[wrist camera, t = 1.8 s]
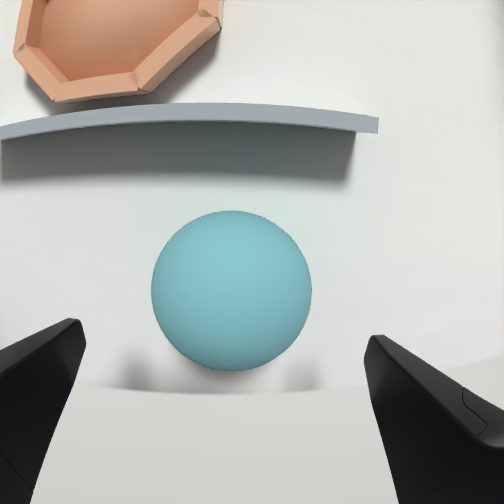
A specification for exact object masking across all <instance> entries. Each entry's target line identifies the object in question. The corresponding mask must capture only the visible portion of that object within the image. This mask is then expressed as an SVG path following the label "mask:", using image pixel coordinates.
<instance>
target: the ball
mask: <svg viewBox="0 0 504 504" xmlns="http://www.w3.org/2000/svg"><path fill="white" fill-rule="evenodd" d="M311 294H312V286H311V278H310V273H309V269H308V265H307V263H306V260H305V258H304V256H303V254H302V252H301V251H300V249H299V247H298V246H297V244H296V243H295V242H294V240H293V239H292V238H291V237H290V236H289V235H288V234H287V233H286V232H285V231H284V230H283V229H281V228H280V227H279V226H277V225H276V224H274V223H273V222H271V221H269V220H267V219H266V218H263V217H261V216H258V215H256V214H252V213H248V212H242V211H221V212H214V213H211V214H207V215H204V216H202V217H199V218H197V219H195V220H193V221H191V222H189V223H188V224H186V225H185V226H183V227H182V228H181V229H180V230H179V231H177V232H176V233H175V234H174V235H173V236H172V238H171V239H170V240H169V241H168V242H167V243H166V245H165V247H164V248H163V250H162V251H161V253H160V255H159V258H158V260H157V262H156V264H155V268H154V272H153V277H152V284H151V297H152V305H153V310H154V313H155V316H156V319H157V322H158V324H159V326H160V328H161V330H162V332H163V333H164V335H165V336H166V338H167V339H168V340H169V341H170V342H171V344H172V345H173V346H174V347H175V348H176V349H177V350H178V351H179V352H180V353H182V354H183V355H184V356H186V357H187V358H189V359H191V360H192V361H194V362H196V363H198V364H201V365H203V366H206V367H209V368H212V369H217V370H224V371H239V370H246V369H251V368H255V367H258V366H261V365H263V364H266V363H268V362H270V361H271V360H273V359H275V358H276V357H278V356H279V355H280V354H281V353H283V352H284V351H285V350H286V349H287V348H288V347H289V346H290V345H291V344H292V343H293V342H294V340H295V339H296V338H297V336H298V335H299V334H300V332H301V330H302V328H303V327H304V324H305V322H306V319H307V316H308V314H309V310H310V305H311Z"/></svg>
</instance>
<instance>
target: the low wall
mask: <svg viewBox="0 0 504 504" xmlns="http://www.w3.org/2000/svg"><path fill="white" fill-rule="evenodd" d="M185 121H218V122H251V123H270V124H285V125H297V126H308V127H318V128H328V129H336V130H344V131H352V132H362V133H377V134H378V121H379V118H378V117H372V116H366V115H360V114H353V113H346V112H339V111H331V110H323V109H314V108H305V107H294V106H281V105H266V104H246V103H171V104H150V105H136V106H124V107H113V108H104V109H95V110H87V111H80V112H73V113H66V114H60V115H54V116H48V117H43V118H37V119H32V120H27V121H23V122H18V123H14V124H9V125H5V126H1V127H0V141H3V140H8V139H13V138H19V137H24V136H30V135H36V134H42V133H48V132H55V131H62V130H70V129H78V128H87V127H96V126H107V125H119V124H133V123H152V122H185Z"/></svg>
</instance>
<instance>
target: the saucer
mask: <svg viewBox="0 0 504 504" xmlns="http://www.w3.org/2000/svg"><path fill="white" fill-rule="evenodd" d="M223 4H224V0H22V5H21V9H20V14H19V19H18V24H17V30H16V36H15V42H14V49H13V54H14V57H15V59H16V60H17V61H18V62H19V63H20V64H21V66H22V67H23V68H24V69H25V70H26V71H27V73H28V74H29V75H30V76H31V77H32V78H33V79H34V81H35V82H36V83H37V84H38V85H39V86H40V87H41V89H42V90H43V91H44V92H45V93H46V94H47V95H48V96H49V98H50V99H51V100H52V101H55V102H66V103H74V102H80V101H87V100H94V99H102V98H110V97H119V96H130V95H141V94H149V92H151V93H152V92H153V91H154V90H155V89H156V88H157V87H158V86H159V85H160V84H161V83H162V82H163V81H164V80H165V79H166V78H167V77H168V76H169V75H170V74H171V73H172V72H173V71H174V70H175V69H176V68H177V67H179V66H180V65H181V64H182V63H183V62H184V61H185V60H186V59H187V58H188V57H189V56H191V55H192V54H193V53H194V52H195V51H196V50H197V49H199V48H200V47H201V46H202V45H203V44H204V43H206V42H207V41H208V40H209V39H210V38H212V37H213V36H214V35H215V34H216V33H218V32H219V31H220V28H222V17H223Z"/></svg>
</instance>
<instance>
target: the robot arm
mask: <svg viewBox="0 0 504 504" xmlns="http://www.w3.org/2000/svg"><path fill="white" fill-rule="evenodd" d="M85 348H86V339H85V335H84V331H83V327H82V323H81V321H80V320H79V319H73V318H67V319H65V320H63V321H61V322H59V323H56V324H54V325H52V326H50V327H48V328H46V329H44V330H41V331H39V332H37V333H35V334H33V335H31V336H29V337H27V338H25V339H22V340H20V341H18V342H16V343H14V344H12V345H10V346H8V347H6V348H4V349H2V350H0V504H30V501H31V498H32V495H33V490H34V488H35V485H36V481H37V478H38V475H39V472H40V469H41V467H42V464H43V460H44V458H45V455H46V452H47V450H48V447H49V444H50V442H51V439H52V436H53V433H54V431H55V428H56V426H57V423H58V421H59V418H60V416H61V413H62V411H63V408H64V406H65V403H66V401H67V399H68V397H69V394H70V392H71V389H72V387H73V385H74V382H75V379H76V376H77V372H78V369H79V366H80V363H81V360H82V357H83V354H84V351H85ZM364 366H365V371H366V377H367V382H368V387H369V392H370V398H371V403H372V406H373V410H374V414H375V417H376V420H377V424H378V427H379V431H380V434H381V437H382V441H383V445H384V448H385V452H386V456H387V459H388V463H389V466H390V470H391V474H392V478H393V482H394V486H395V490H396V494H397V498H398V502H399V504H504V410H502V409H500V408H498V407H497V406H495V405H493V404H491V403H489V402H488V401H486V400H484V399H482V398H481V397H479V396H477V395H476V394H474V393H472V392H471V391H469V390H468V389H467V388H465V387H462V385H460V384H459V383H457V382H456V381H454V380H453V379H451V378H450V377H448V376H446V375H445V374H443V373H442V372H440V371H439V370H437V369H436V368H434V367H433V366H431V365H429V364H428V363H426V362H425V361H423V360H422V359H420V358H419V357H417V356H416V355H414V354H413V353H411V352H409V351H408V350H406V349H405V348H403V347H402V346H400V345H399V344H397V343H396V342H394V341H392V340H391V339H389V338H388V337H386V336H385V335H372V336H371V337H370V339H369V342H368V345H367V349H366V352H365V355H364Z"/></svg>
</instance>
